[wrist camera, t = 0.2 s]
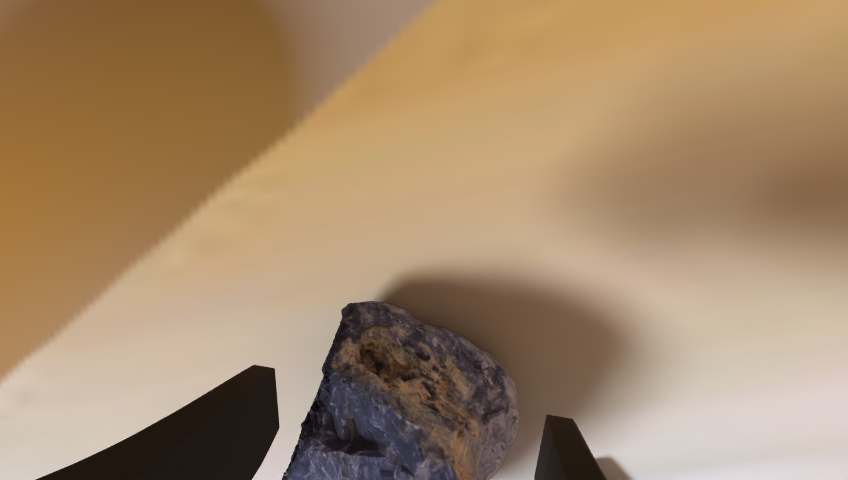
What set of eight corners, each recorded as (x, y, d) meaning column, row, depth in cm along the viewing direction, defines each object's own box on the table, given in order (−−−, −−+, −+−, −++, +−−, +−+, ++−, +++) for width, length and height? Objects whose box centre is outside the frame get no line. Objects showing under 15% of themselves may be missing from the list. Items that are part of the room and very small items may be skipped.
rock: (304, 275, 20) (308, 494, 11) (496, 302, 23) (603, 480, 15) (264, 428, 24) (246, 664, 16) (430, 430, 28) (484, 620, 20)
